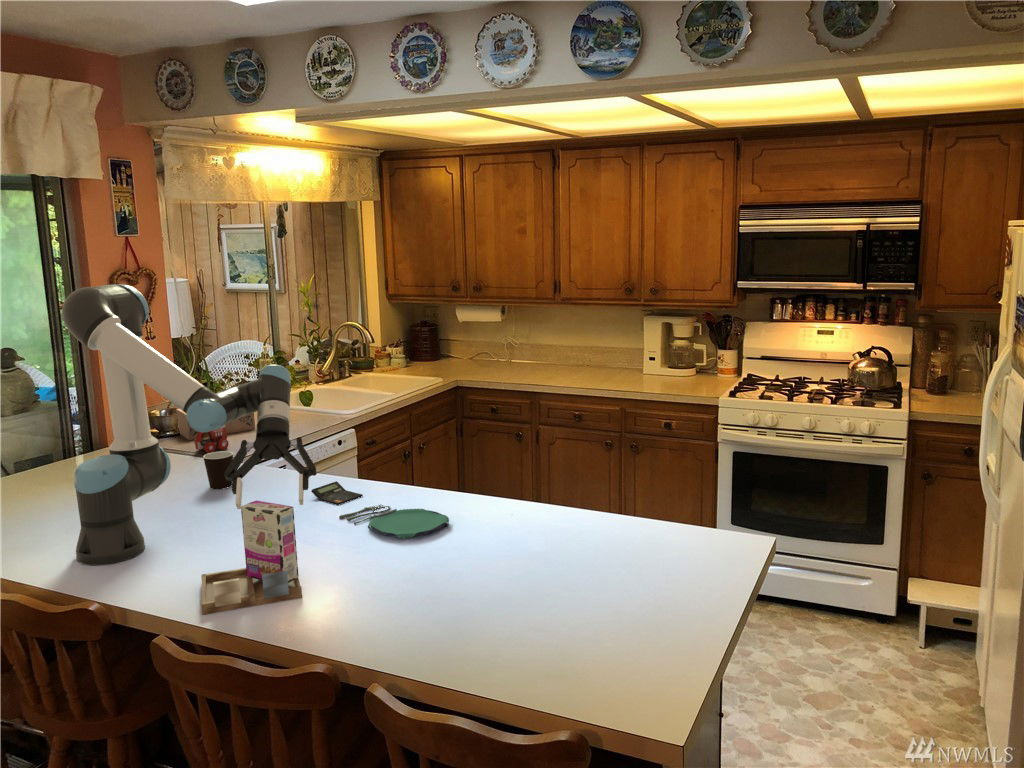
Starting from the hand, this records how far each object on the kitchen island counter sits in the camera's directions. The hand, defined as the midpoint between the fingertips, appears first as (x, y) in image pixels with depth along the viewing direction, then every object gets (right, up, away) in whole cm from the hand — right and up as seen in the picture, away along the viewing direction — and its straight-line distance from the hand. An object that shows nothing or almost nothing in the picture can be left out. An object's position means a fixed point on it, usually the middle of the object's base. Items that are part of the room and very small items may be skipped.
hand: (269, 504), depth 179 cm
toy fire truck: (-55, +3, +111) cm, 124 cm away
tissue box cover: (-63, +8, +140) cm, 153 cm away
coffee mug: (-36, -5, +70) cm, 79 cm away
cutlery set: (+23, -11, +34) cm, 43 cm away
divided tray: (-3, -18, -5) cm, 19 cm away
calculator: (+3, -7, +56) cm, 56 cm away
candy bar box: (+2, -16, -4) cm, 16 cm away
